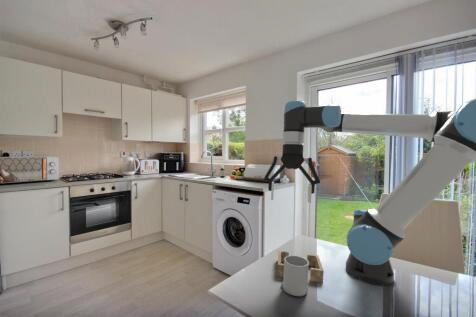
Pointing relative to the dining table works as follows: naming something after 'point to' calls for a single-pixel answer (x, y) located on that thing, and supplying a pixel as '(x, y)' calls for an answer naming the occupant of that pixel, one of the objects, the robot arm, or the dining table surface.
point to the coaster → (288, 293)
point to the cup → (295, 275)
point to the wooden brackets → (313, 260)
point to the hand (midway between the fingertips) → (290, 200)
